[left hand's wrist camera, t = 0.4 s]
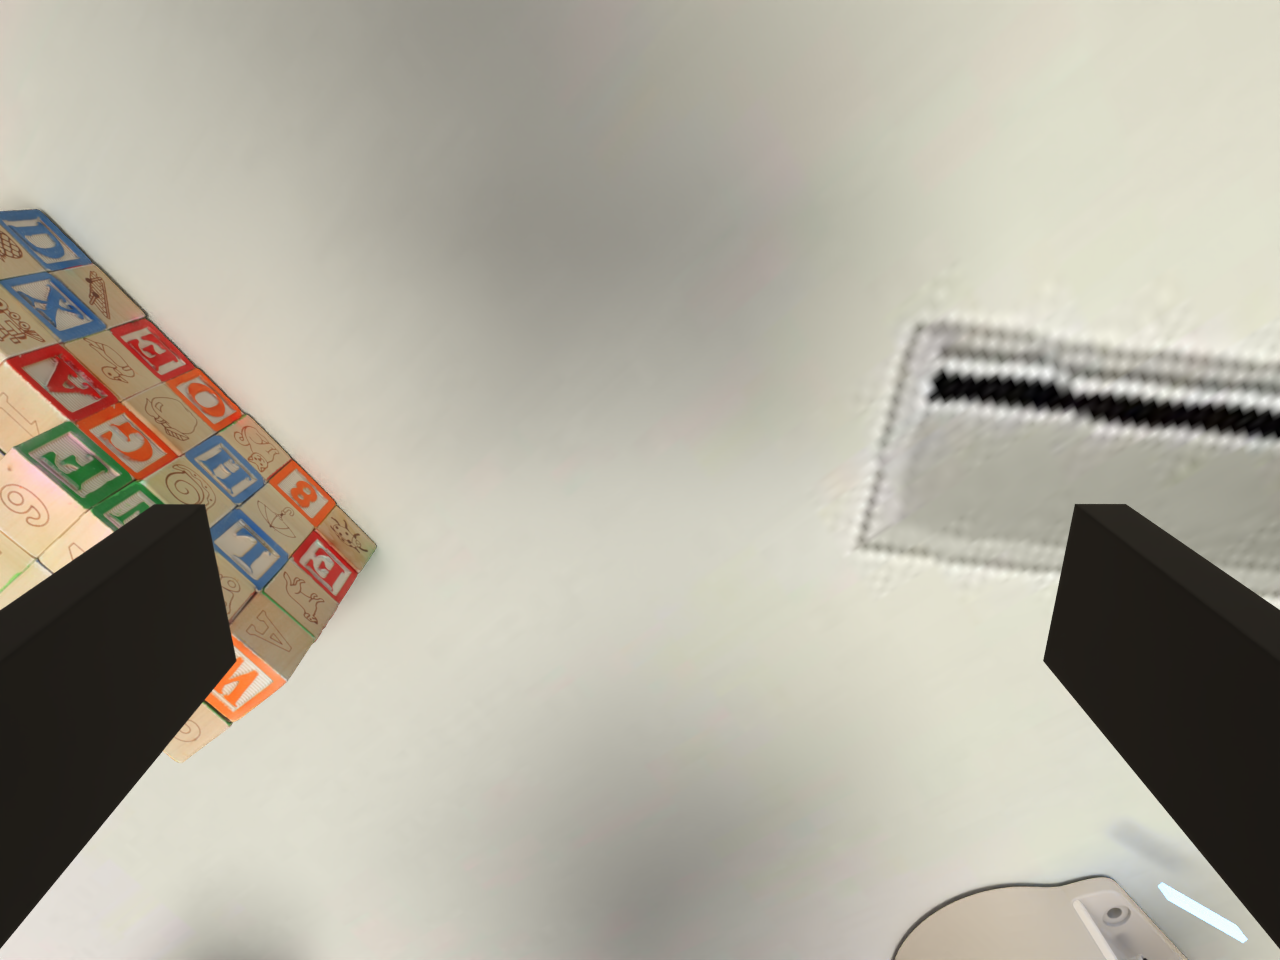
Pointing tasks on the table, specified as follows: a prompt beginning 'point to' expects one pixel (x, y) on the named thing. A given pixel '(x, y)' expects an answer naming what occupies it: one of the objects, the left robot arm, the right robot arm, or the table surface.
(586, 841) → the table surface
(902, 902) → the table surface
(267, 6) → the table surface
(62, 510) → the stack of blocks
